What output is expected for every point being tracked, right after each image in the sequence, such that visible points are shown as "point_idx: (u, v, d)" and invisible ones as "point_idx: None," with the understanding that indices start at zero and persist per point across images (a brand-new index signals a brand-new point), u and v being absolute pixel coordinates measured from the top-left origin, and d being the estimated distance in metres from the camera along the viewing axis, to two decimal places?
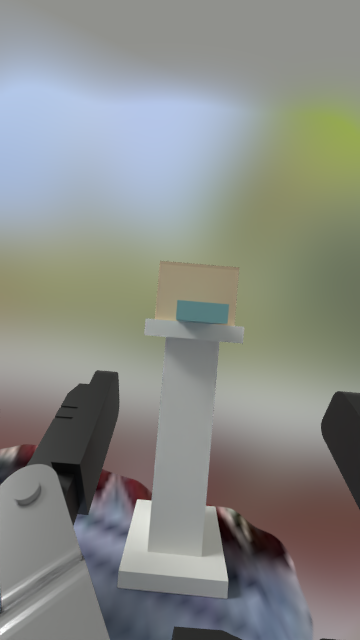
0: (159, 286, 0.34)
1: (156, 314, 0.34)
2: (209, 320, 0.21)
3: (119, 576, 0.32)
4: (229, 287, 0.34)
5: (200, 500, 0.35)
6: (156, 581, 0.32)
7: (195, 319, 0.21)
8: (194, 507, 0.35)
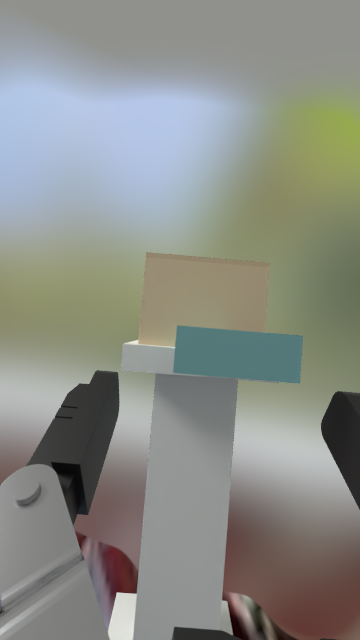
0: (145, 292, 0.22)
1: (140, 336, 0.21)
2: (255, 375, 0.09)
3: None
4: (254, 293, 0.22)
5: (211, 629, 0.22)
6: None
7: (221, 373, 0.08)
8: None
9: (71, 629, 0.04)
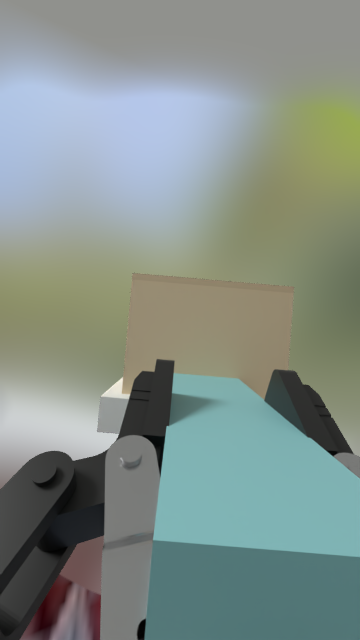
0: (131, 325, 0.17)
1: (125, 383, 0.16)
2: None
3: None
4: (274, 327, 0.17)
5: None
6: None
7: None
8: None
9: None
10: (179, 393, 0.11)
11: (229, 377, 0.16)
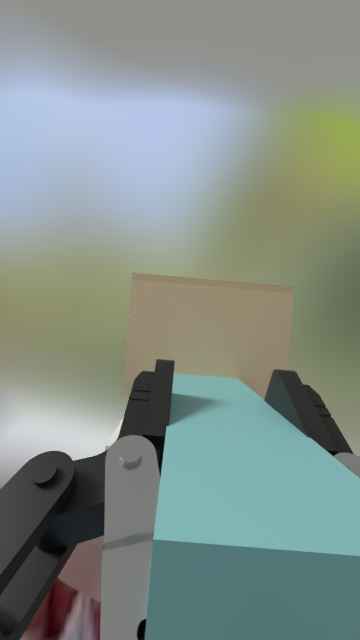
0: (131, 325, 0.17)
1: (124, 383, 0.16)
2: None
3: None
4: (274, 327, 0.17)
5: None
6: None
7: None
8: None
9: None
10: (179, 393, 0.11)
11: (229, 377, 0.16)
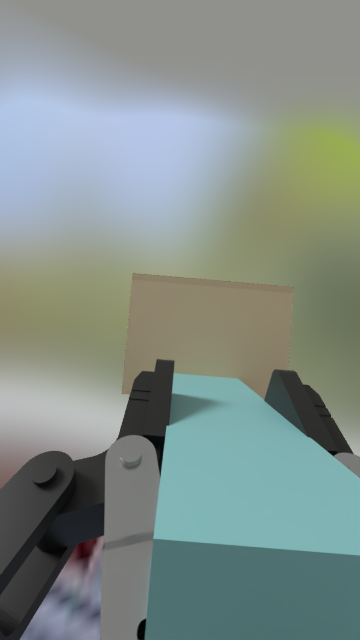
0: (131, 325, 0.17)
1: (124, 383, 0.16)
2: None
3: None
4: (274, 327, 0.17)
5: None
6: None
7: None
8: None
9: None
10: (179, 393, 0.11)
11: (229, 377, 0.16)
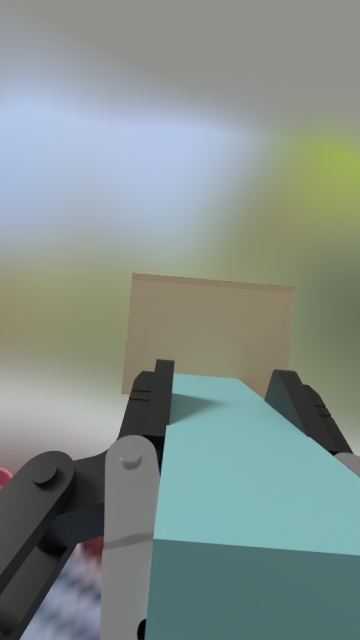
0: (131, 325, 0.17)
1: (124, 383, 0.16)
2: None
3: None
4: (274, 327, 0.17)
5: None
6: None
7: None
8: None
9: None
10: (179, 393, 0.11)
11: (229, 377, 0.16)
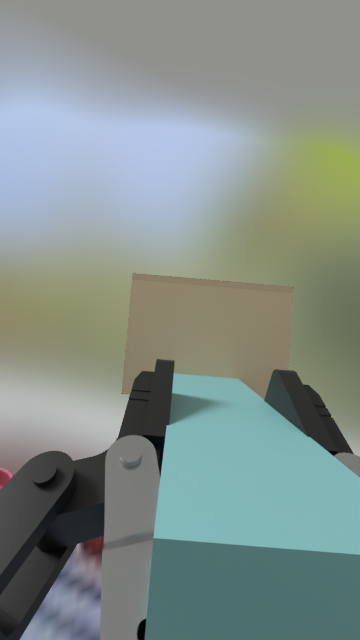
0: (131, 325, 0.17)
1: (124, 383, 0.16)
2: None
3: None
4: (274, 327, 0.17)
5: None
6: None
7: None
8: None
9: None
10: (179, 393, 0.11)
11: (229, 377, 0.16)
